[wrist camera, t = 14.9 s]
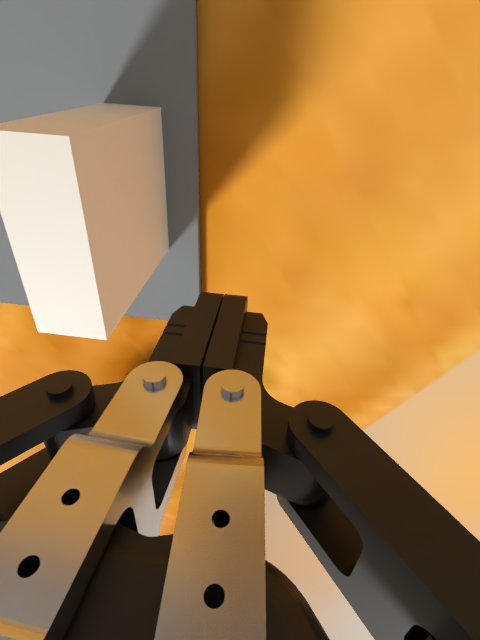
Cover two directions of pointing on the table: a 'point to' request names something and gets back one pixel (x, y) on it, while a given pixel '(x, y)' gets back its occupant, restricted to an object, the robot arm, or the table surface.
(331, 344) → the table surface
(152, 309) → the slate mat
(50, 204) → the cream block
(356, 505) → the robot arm
